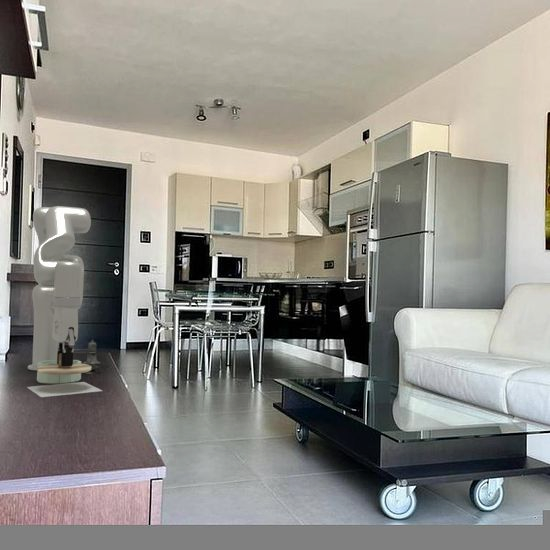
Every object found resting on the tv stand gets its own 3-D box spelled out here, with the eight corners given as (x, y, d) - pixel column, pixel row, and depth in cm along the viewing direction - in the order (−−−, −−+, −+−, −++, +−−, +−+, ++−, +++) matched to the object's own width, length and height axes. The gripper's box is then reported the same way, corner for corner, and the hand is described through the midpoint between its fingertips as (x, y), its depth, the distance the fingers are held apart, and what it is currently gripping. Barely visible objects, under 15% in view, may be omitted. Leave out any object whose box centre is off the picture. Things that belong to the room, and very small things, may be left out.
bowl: (33, 379, 170) (33, 361, 170) (73, 376, 178) (74, 358, 178) (43, 385, 160) (44, 366, 160) (85, 382, 168) (86, 363, 168)
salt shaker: (94, 374, 183) (95, 340, 183) (79, 373, 184) (80, 339, 184) (103, 371, 188) (104, 338, 189) (88, 371, 190) (89, 338, 190)
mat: (26, 388, 156) (26, 386, 156) (84, 383, 166) (84, 381, 166) (41, 398, 142) (41, 397, 142) (102, 392, 153) (102, 390, 153)
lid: (31, 367, 156) (32, 351, 156) (82, 364, 165) (82, 349, 165) (44, 376, 144) (45, 359, 144) (98, 371, 154) (99, 355, 154)
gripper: (46, 301, 159) (44, 361, 159) (61, 305, 146) (59, 370, 146) (71, 301, 164) (69, 360, 164) (88, 305, 151) (86, 368, 151)
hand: (64, 364), depth 155 cm, fingers closed on lid, 3 cm apart
